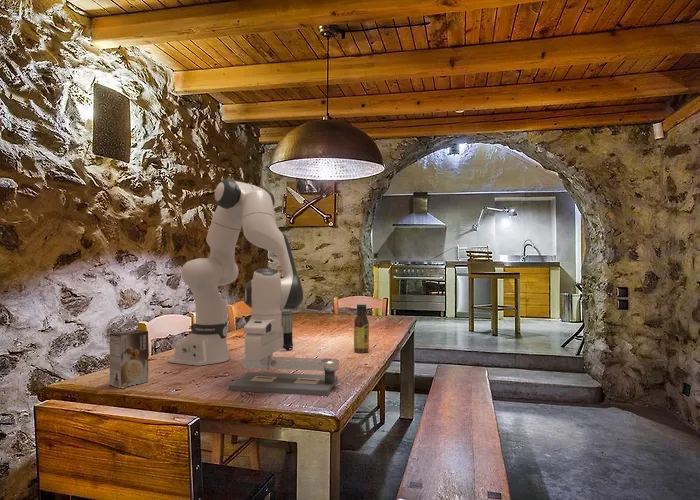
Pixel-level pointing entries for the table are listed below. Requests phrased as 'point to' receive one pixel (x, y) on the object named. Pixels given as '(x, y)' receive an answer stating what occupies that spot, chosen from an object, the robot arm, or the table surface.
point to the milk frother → (287, 329)
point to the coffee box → (128, 358)
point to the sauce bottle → (361, 330)
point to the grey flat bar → (297, 364)
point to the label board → (285, 383)
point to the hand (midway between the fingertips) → (265, 369)
